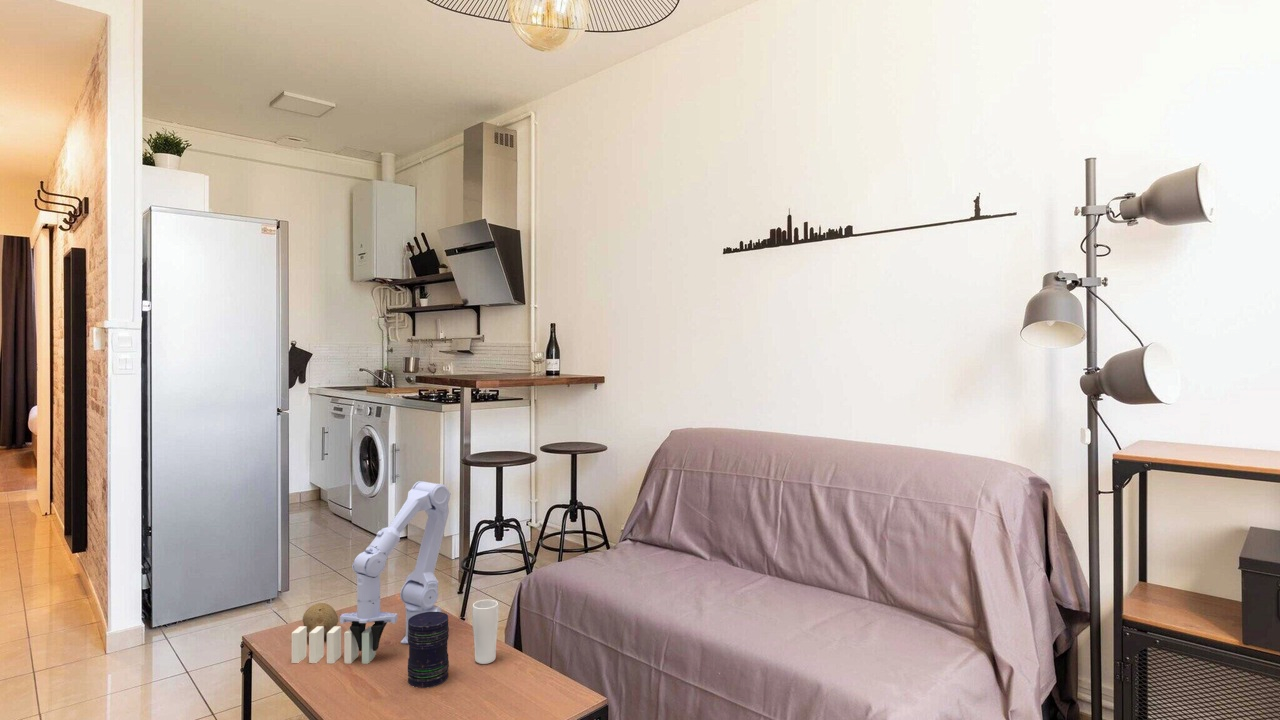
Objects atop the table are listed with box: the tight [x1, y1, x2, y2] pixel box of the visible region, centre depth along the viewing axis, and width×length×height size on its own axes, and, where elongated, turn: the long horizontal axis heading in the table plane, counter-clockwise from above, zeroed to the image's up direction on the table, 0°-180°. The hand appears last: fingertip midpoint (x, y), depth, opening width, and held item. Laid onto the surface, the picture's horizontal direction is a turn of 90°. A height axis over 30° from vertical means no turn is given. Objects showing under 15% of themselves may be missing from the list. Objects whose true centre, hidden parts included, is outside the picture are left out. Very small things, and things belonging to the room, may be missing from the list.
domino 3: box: [326, 625, 342, 664], centre depth 178 cm, size 2×4×8 cm, turn 0°
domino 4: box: [343, 627, 359, 664], centre depth 178 cm, size 2×4×8 cm, turn 0°
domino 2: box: [308, 626, 325, 664], centre depth 178 cm, size 2×4×8 cm, turn 0°
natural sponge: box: [302, 602, 339, 637], centre depth 192 cm, size 9×9×10 cm
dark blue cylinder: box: [407, 611, 450, 689], centre depth 168 cm, size 10×10×15 cm
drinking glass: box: [471, 599, 499, 665], centre depth 178 cm, size 7×7×15 cm
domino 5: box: [361, 625, 376, 665], centre depth 178 cm, size 2×4×8 cm, turn 0°
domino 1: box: [291, 625, 308, 664], centre depth 178 cm, size 2×4×8 cm, turn 0°
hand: (368, 649), depth 178 cm, fingers open, 3 cm apart
